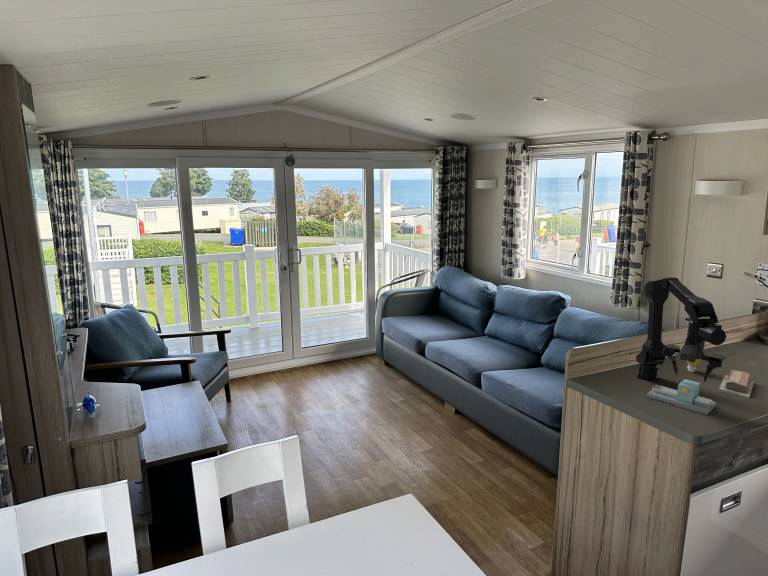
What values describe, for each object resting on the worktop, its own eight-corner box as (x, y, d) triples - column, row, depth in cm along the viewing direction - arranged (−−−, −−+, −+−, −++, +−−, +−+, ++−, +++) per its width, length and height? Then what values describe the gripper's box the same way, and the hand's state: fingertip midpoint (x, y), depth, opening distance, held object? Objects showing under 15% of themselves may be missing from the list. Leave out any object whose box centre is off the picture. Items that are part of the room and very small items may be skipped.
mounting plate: (646, 397, 198) (647, 393, 198) (656, 389, 205) (657, 385, 205) (707, 414, 184) (707, 410, 184) (715, 406, 191) (716, 402, 191)
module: (675, 400, 192) (677, 384, 190) (682, 394, 197) (684, 379, 196) (690, 405, 188) (693, 389, 187) (697, 398, 194) (700, 383, 192)
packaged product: (726, 366, 217) (755, 372, 211) (724, 378, 218) (753, 384, 212) (720, 380, 203) (751, 387, 197) (718, 392, 204) (749, 399, 198)
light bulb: (699, 369, 226) (703, 347, 223) (701, 375, 220) (704, 352, 218) (681, 367, 228) (684, 344, 226) (682, 372, 222) (686, 349, 220)
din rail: (651, 391, 200) (652, 387, 199) (655, 388, 202) (655, 384, 202) (708, 407, 186) (709, 403, 186) (712, 404, 189) (712, 400, 189)
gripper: (659, 334, 189) (654, 376, 192) (720, 347, 176) (713, 392, 179) (670, 328, 196) (665, 368, 200) (729, 340, 183) (722, 383, 187)
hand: (690, 378), depth 191 cm, fingers open, 9 cm apart
